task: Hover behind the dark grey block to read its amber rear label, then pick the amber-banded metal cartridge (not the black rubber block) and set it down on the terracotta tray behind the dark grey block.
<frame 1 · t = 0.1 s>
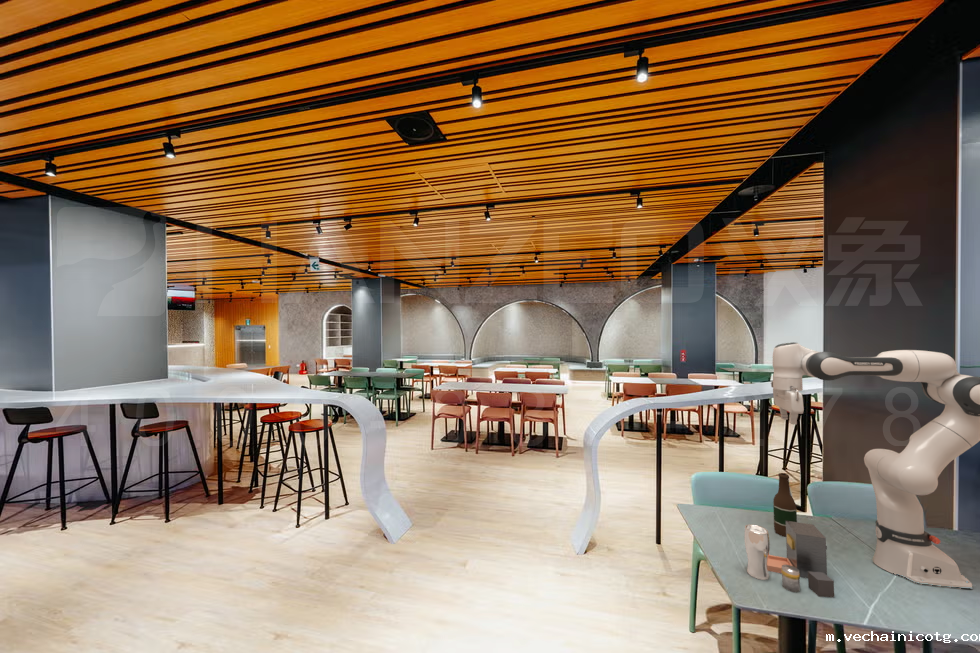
hand: (788, 421, 145), 48 cm above the table, fingers open, 8 cm apart
beer bottle: (785, 534, 155), on the table
beer glass: (757, 575, 128), on the table
rubber block: (821, 592, 119), on the table
cartridge: (790, 587, 121), on the table
tray: (778, 567, 132), on the table
dark grey block: (806, 570, 130), on the table
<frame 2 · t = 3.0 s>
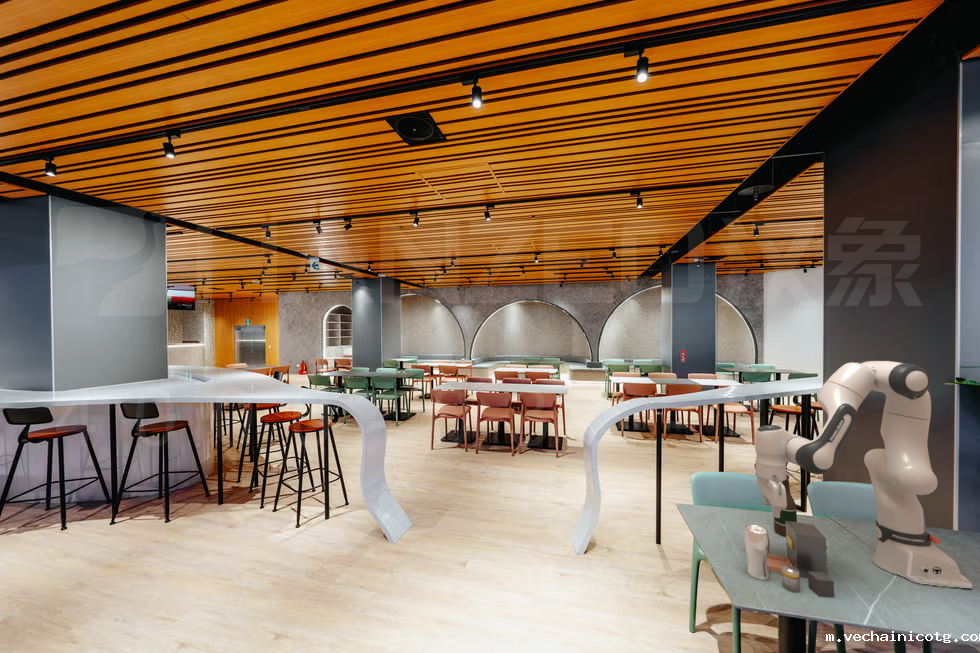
hand: (772, 511, 135), 18 cm above the table, fingers open, 8 cm apart
nothing on the table moved.
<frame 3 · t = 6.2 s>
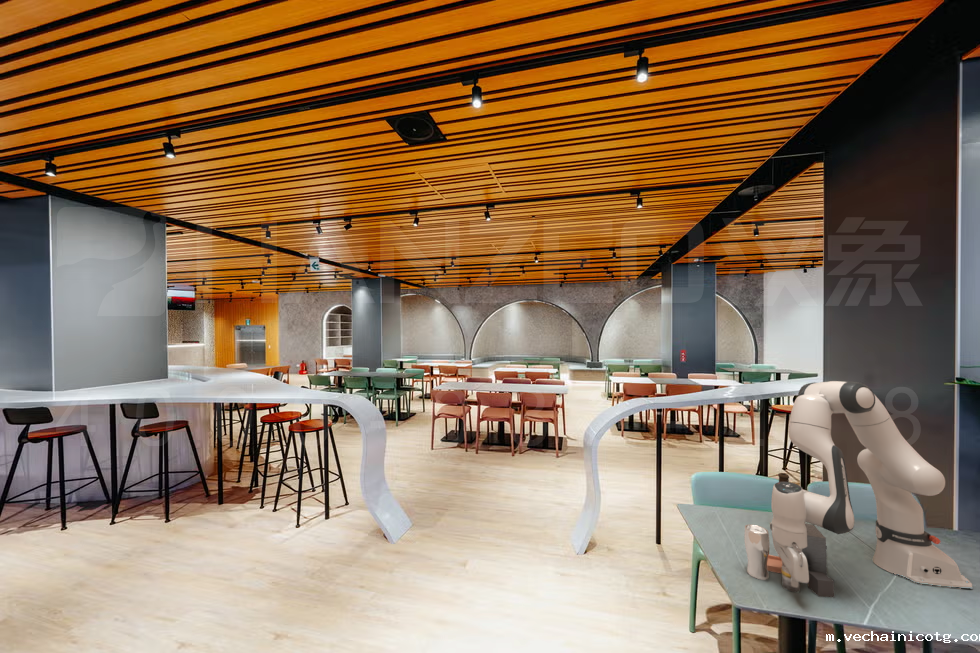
hand: (790, 580, 121), 2 cm above the table, fingers closed on cartridge, 5 cm apart
cartridge: (790, 587, 121), on the table, touching gripper
everything else where it was.
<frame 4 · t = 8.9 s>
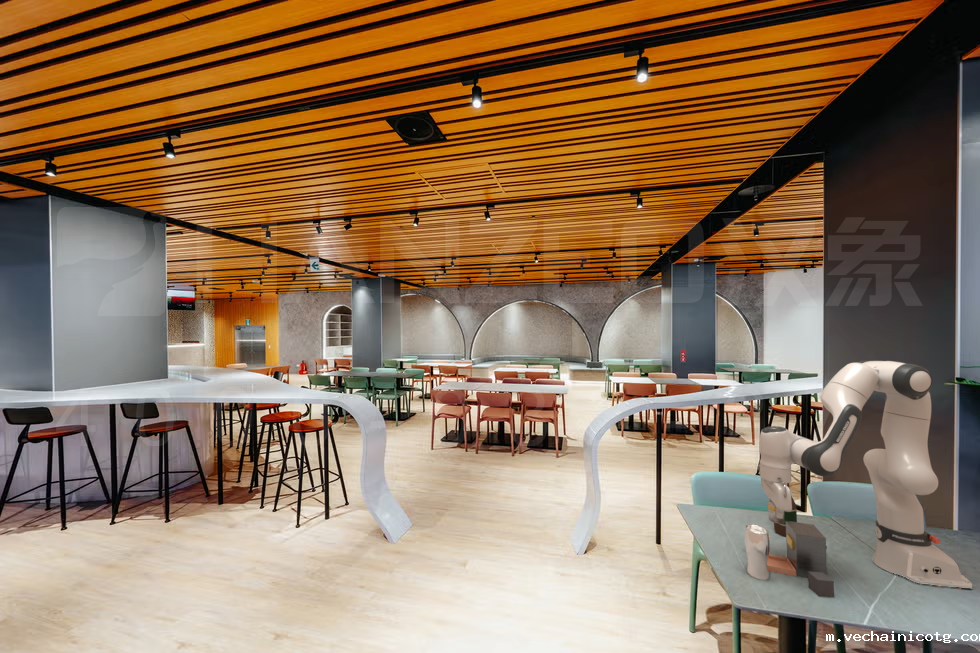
hand: (776, 514, 133), 18 cm above the table, fingers closed on cartridge, 5 cm apart
cartridge: (776, 520, 133), point 16 cm above the table, touching gripper
everything else where it was.
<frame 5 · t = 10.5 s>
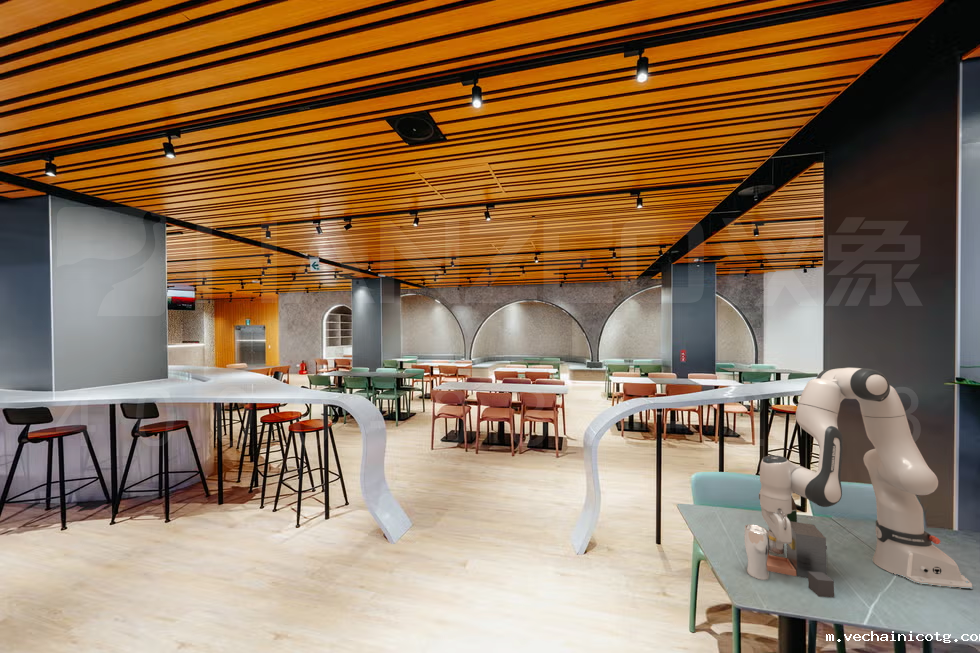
hand: (776, 544, 133), 8 cm above the table, fingers closed on cartridge, 5 cm apart
cartridge: (776, 550, 133), point 5 cm above the table, touching gripper
everything else where it was.
when the fingers open (4 cm above the table, at t = 11.7 s): cartridge stays where it is, resting on tray.
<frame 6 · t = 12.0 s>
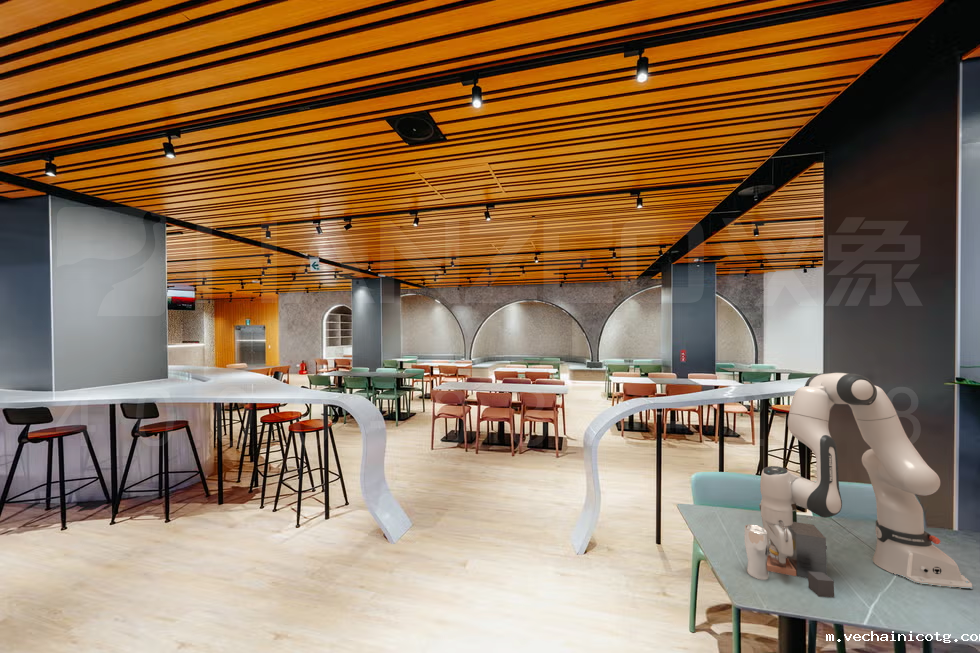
hand: (777, 555, 132), 4 cm above the table, fingers open, 7 cm apart
cartridge: (777, 564, 132), point 1 cm above the table, touching tray
everything else where it was.
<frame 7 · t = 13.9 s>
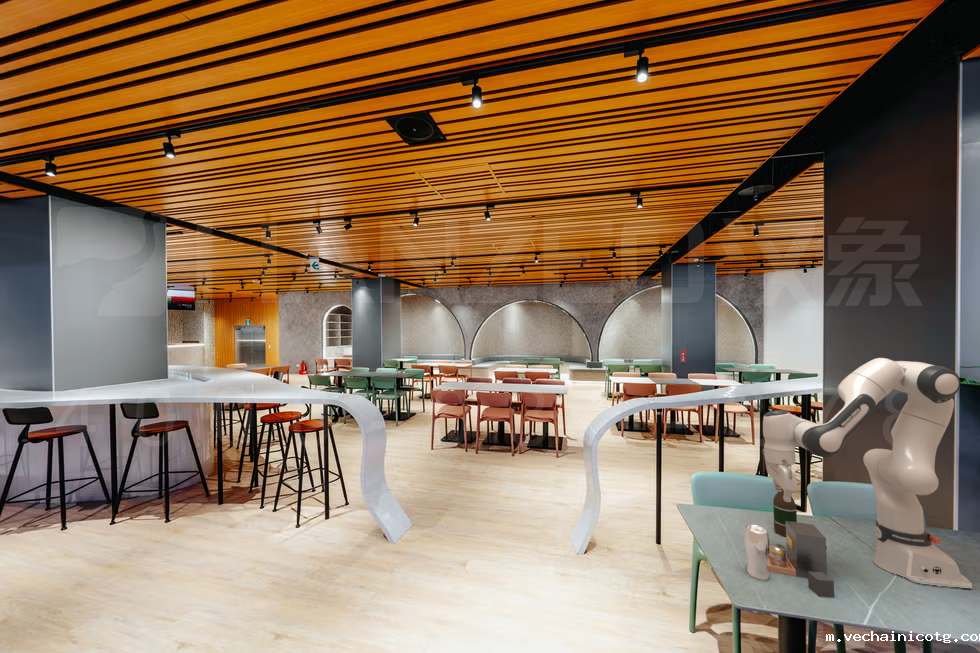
hand: (782, 496, 136), 23 cm above the table, fingers open, 8 cm apart
nothing on the table moved.
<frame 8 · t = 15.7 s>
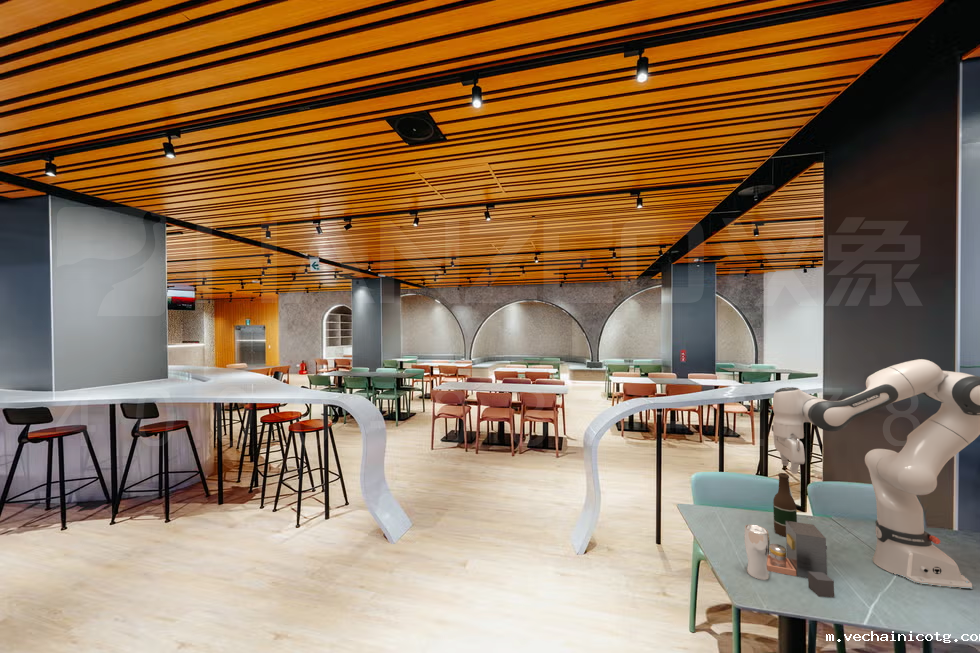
hand: (789, 469, 141), 31 cm above the table, fingers open, 8 cm apart
nothing on the table moved.
at the end: cartridge inside the target area on the tray (0.0 cm from its centre), point 0.9 cm above the tray's base; cartridge tilted 1°; the gripper is holding nothing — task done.
